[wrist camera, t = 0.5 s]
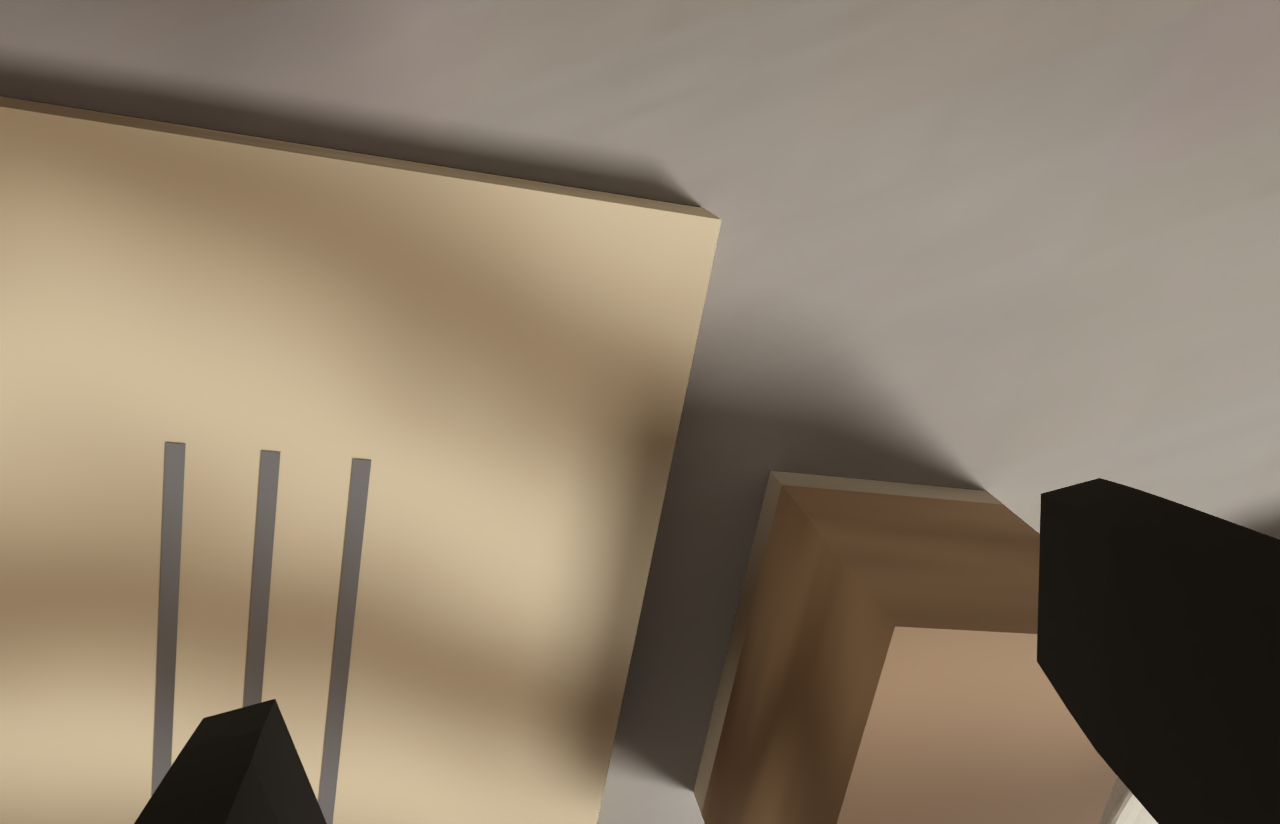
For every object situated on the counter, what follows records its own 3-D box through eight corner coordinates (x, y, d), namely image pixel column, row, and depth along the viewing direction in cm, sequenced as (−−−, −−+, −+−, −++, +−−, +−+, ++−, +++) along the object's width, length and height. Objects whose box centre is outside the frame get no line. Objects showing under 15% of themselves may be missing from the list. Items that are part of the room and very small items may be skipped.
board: (552, 964, 24) (558, 1010, 23) (-129, 987, 21) (-160, 1042, 20) (703, 208, 19) (722, 220, 18) (-194, 64, 15) (-242, 69, 14)
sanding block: (889, 790, 25) (1025, 1009, 19) (692, 789, 24) (778, 1022, 18) (984, 488, 22) (1170, 641, 17) (768, 468, 21) (895, 626, 16)
